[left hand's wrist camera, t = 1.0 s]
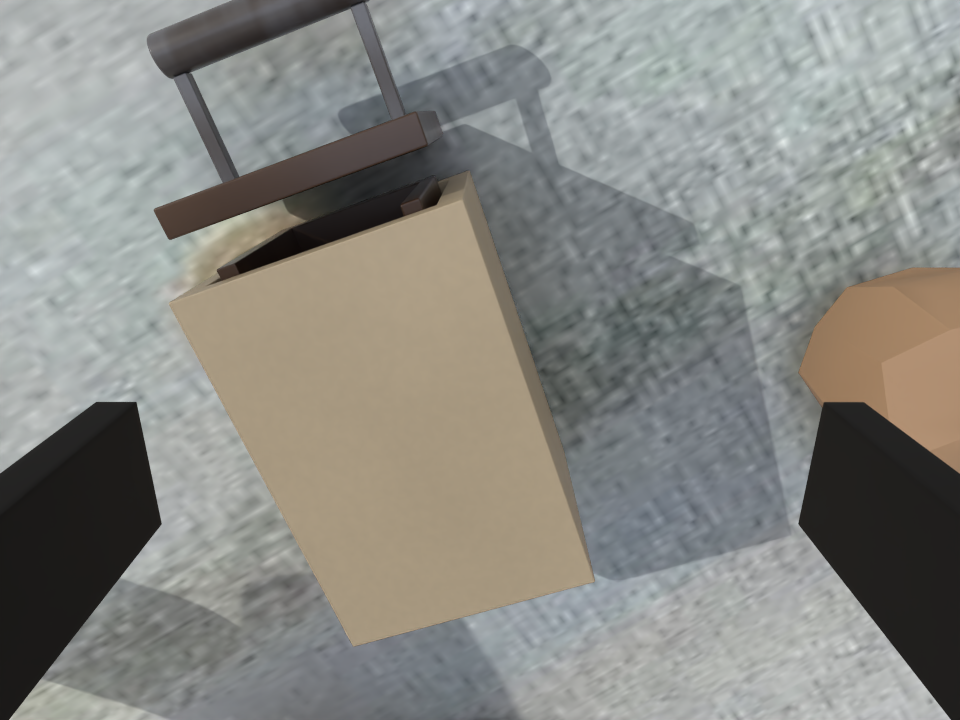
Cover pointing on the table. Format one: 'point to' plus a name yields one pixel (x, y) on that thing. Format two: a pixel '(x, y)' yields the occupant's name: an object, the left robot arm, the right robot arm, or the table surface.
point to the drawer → (243, 25)
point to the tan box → (397, 419)
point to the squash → (895, 354)
